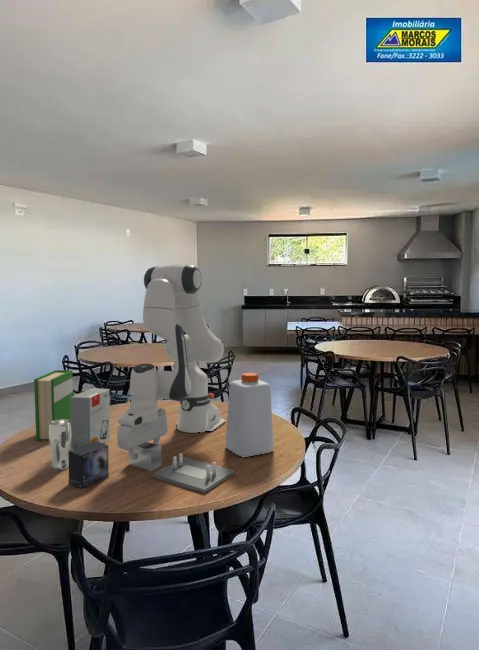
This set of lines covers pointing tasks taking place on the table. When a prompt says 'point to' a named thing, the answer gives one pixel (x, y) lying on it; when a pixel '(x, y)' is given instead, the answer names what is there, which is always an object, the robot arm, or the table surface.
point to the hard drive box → (90, 417)
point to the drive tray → (193, 474)
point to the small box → (88, 464)
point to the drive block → (147, 456)
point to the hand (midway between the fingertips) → (144, 454)
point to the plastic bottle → (249, 417)
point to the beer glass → (60, 443)
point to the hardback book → (52, 400)
